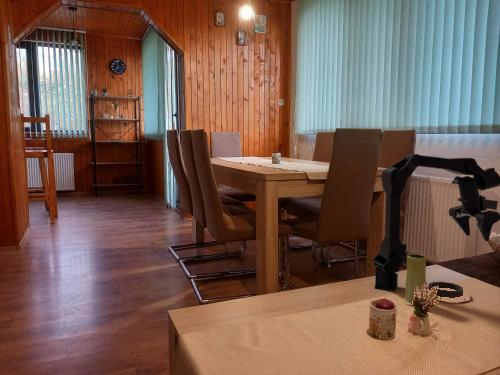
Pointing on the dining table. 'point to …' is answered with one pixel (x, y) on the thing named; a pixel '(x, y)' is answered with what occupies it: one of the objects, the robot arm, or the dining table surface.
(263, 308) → the dining table surface
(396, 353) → the dining table surface
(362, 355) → the dining table surface
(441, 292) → the stand
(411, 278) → the vase
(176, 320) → the dining table surface
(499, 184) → the robot arm
